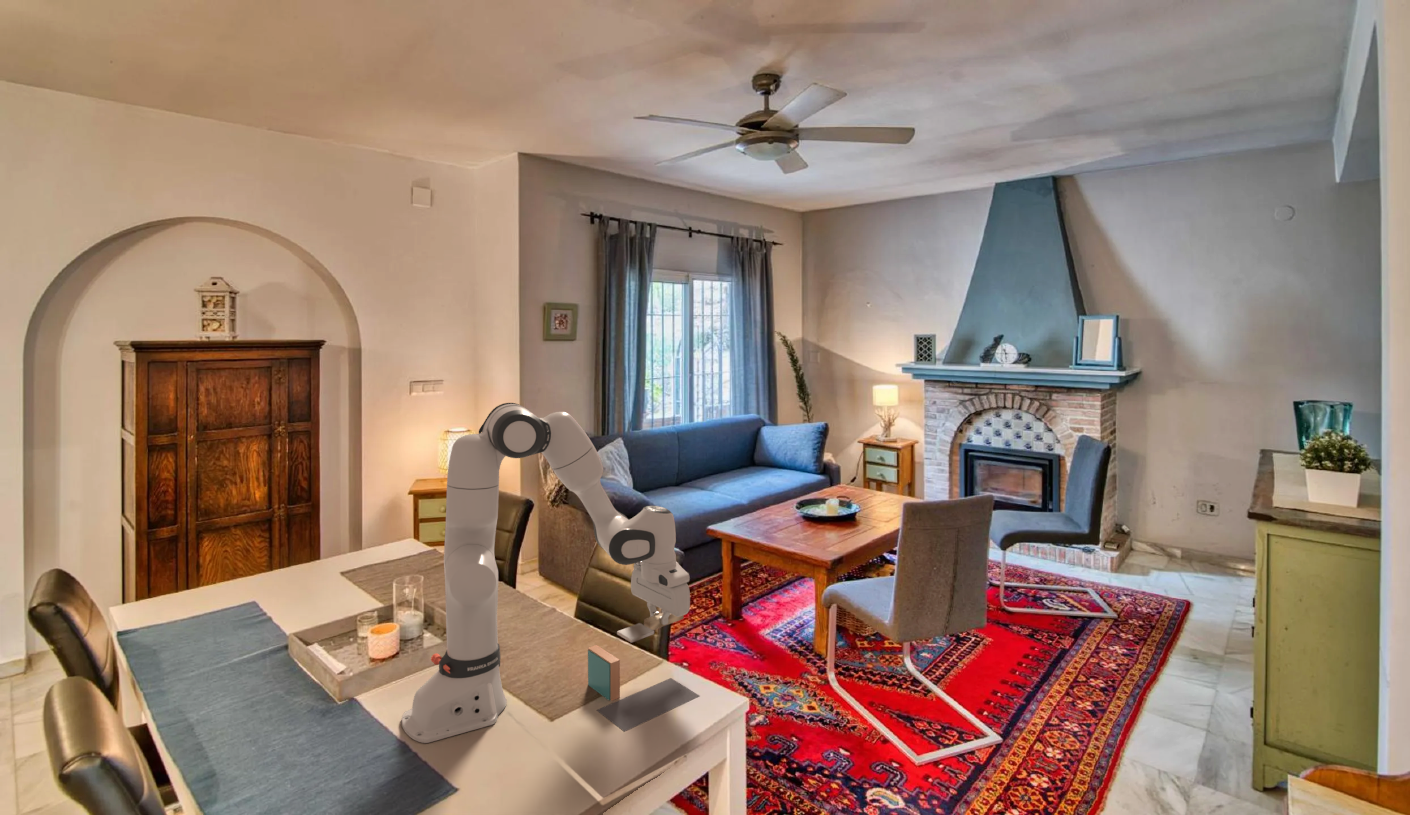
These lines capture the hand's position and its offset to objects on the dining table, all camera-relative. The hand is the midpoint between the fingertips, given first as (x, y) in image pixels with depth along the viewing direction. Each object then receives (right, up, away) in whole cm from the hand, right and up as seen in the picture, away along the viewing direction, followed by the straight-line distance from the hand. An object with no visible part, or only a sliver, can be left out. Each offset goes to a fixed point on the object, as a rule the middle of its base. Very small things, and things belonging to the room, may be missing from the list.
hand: (659, 621), depth 173 cm
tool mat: (-1, -15, -15) cm, 21 cm away
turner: (-2, -1, -2) cm, 3 cm away
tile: (-13, -14, -10) cm, 21 cm away
